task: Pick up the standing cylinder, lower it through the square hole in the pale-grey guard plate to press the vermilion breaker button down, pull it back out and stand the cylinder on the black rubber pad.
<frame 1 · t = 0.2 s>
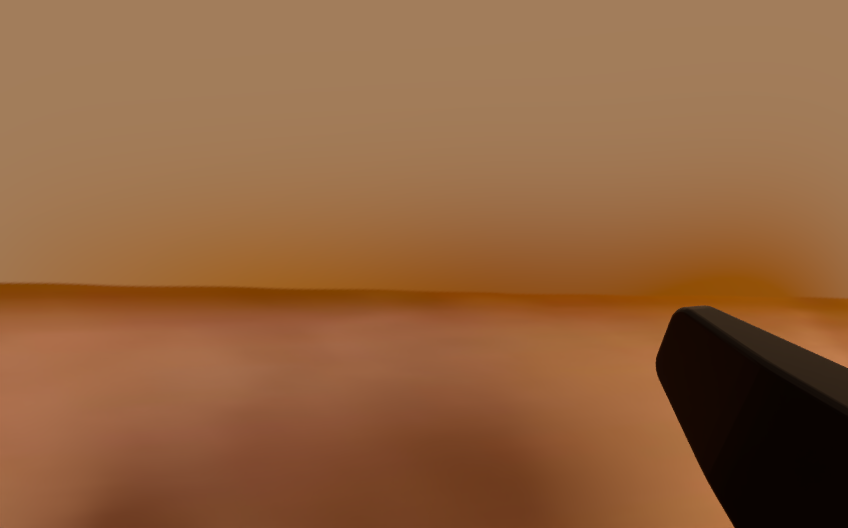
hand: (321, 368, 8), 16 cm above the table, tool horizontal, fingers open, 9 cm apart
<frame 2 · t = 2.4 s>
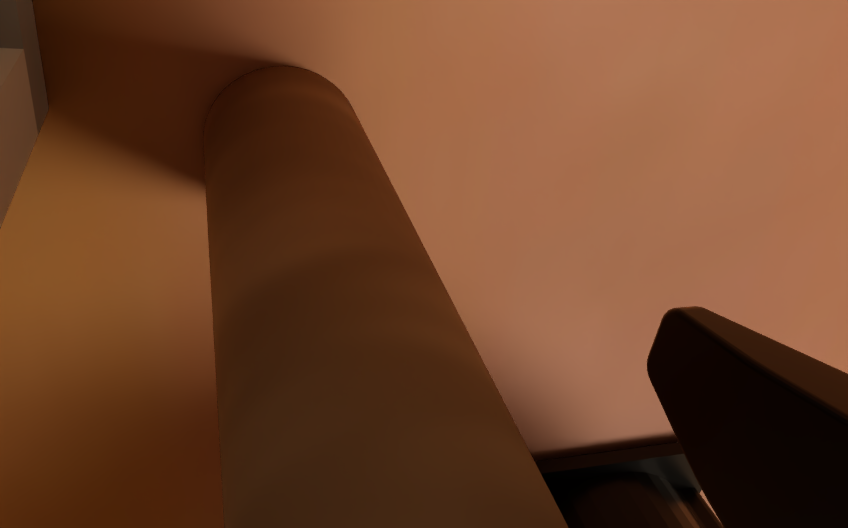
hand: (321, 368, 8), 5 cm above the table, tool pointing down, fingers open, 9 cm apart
cylinder: (283, 142, 12), on the table
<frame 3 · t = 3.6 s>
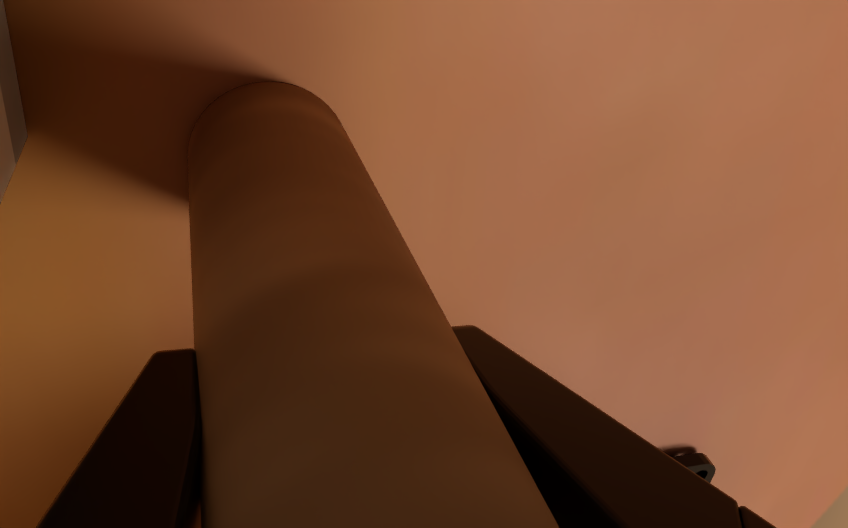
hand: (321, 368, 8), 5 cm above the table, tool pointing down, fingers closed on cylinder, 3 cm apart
cylinder: (270, 159, 12), on the table, touching gripper
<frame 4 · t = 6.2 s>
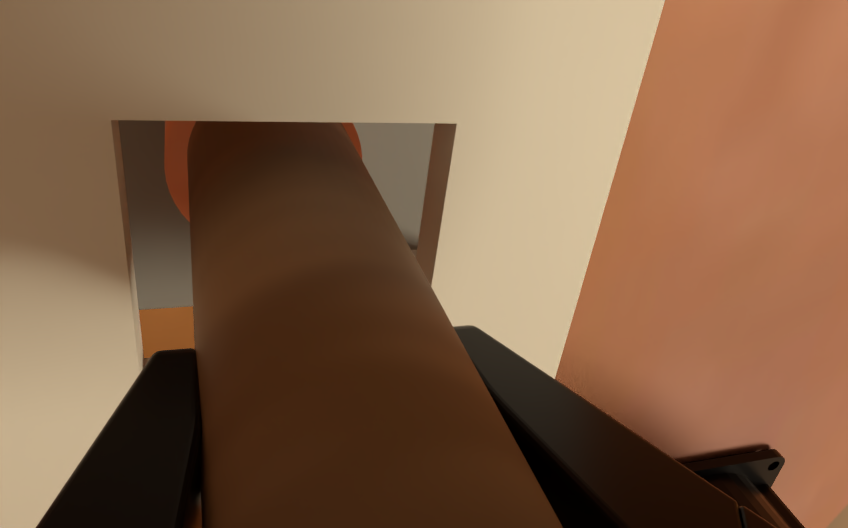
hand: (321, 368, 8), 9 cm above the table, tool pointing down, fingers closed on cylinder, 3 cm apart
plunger: (260, 140, 13), point 2 cm above the table, slide at 2.0 cm, touching cylinder
cylinder: (270, 158, 12), point 4 cm above the table, touching gripper, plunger
guard: (248, 94, 14), on the table
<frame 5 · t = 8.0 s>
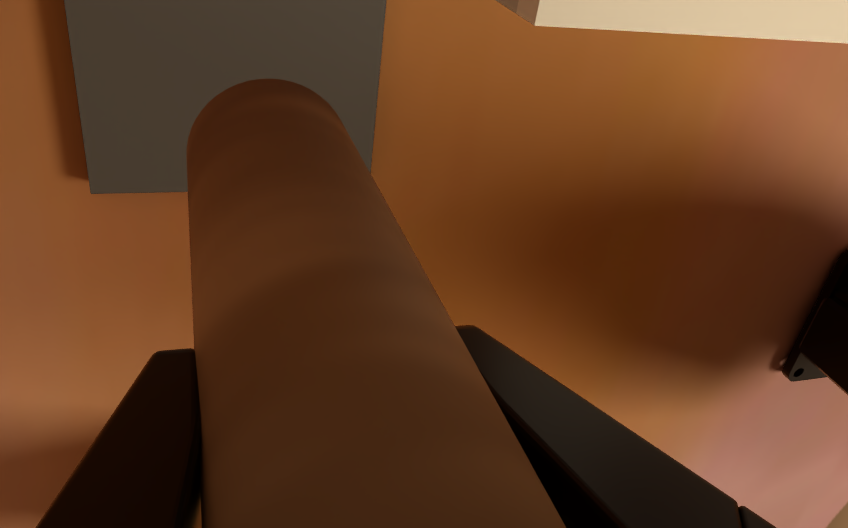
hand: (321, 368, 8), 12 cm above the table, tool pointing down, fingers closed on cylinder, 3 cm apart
pad: (234, 49, 17), on the table
cylinder: (270, 157, 12), point 7 cm above the table, touching gripper
when the fingers open (7 cm above the table, at t = 9.3 s): cylinder drops 1 cm, resting on pad.
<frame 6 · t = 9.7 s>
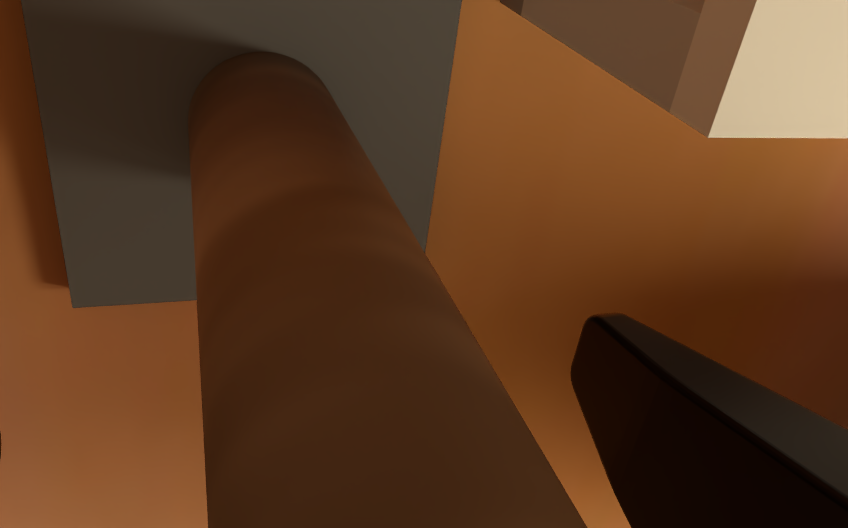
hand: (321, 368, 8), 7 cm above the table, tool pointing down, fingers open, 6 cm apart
pad: (256, 125, 13), on the table
cylinder: (264, 125, 13), point 1 cm above the table, touching pad
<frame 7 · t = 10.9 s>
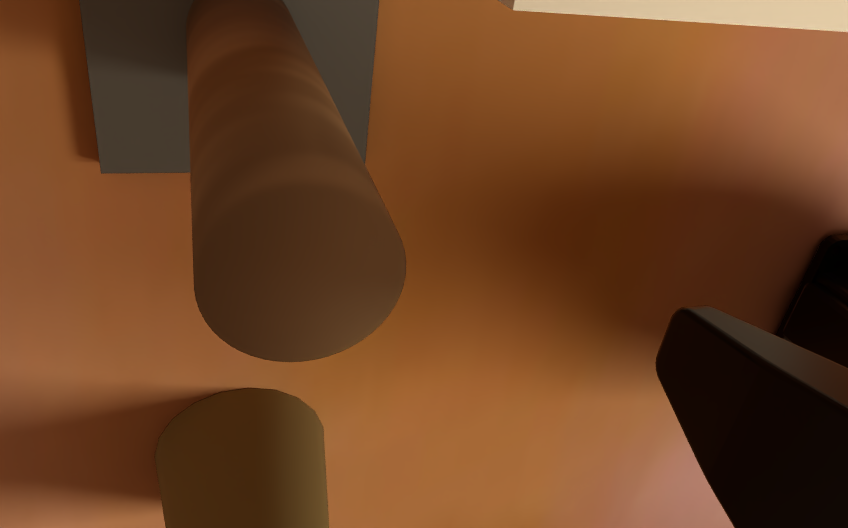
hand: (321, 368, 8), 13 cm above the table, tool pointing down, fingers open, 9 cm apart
pad: (236, 37, 18), on the table
cylinder: (241, 33, 18), point 1 cm above the table, touching pad
cork: (242, 446, 26), on the table
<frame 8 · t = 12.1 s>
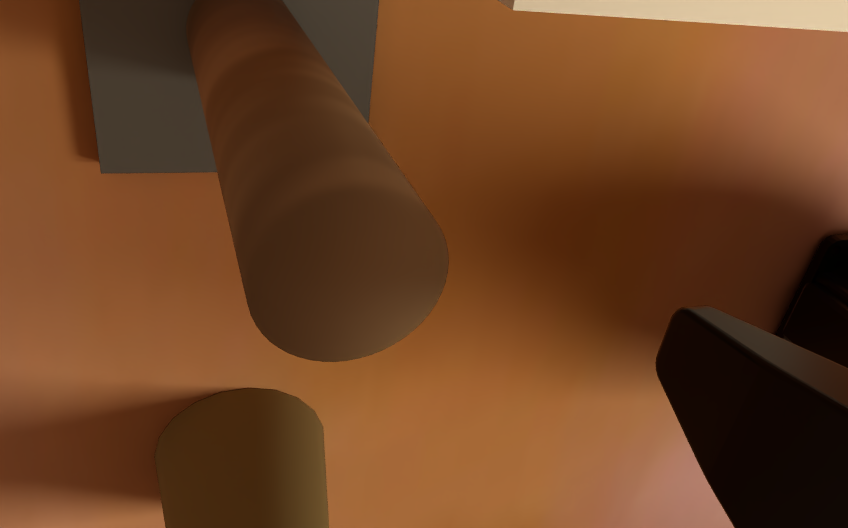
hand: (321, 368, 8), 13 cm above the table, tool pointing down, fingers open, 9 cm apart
pad: (236, 37, 18), on the table
cylinder: (241, 33, 17), point 1 cm above the table, touching pad
cork: (242, 446, 26), on the table
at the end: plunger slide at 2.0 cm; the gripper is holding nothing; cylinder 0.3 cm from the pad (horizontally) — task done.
